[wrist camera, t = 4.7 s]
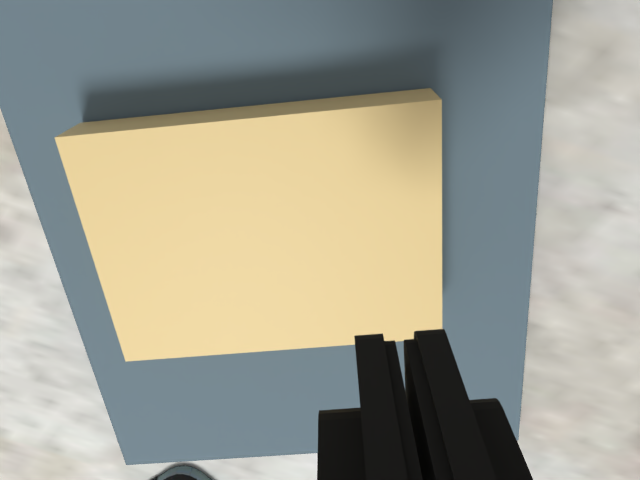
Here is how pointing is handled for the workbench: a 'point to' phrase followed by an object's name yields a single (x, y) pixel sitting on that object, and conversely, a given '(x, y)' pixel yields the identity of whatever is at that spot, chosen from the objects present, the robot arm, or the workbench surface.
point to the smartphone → (183, 474)
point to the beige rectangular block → (264, 223)
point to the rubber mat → (278, 87)
